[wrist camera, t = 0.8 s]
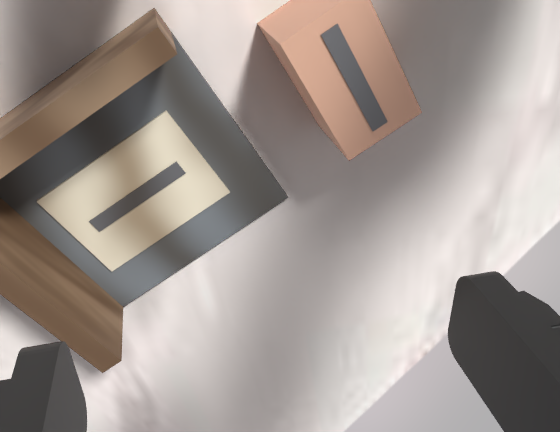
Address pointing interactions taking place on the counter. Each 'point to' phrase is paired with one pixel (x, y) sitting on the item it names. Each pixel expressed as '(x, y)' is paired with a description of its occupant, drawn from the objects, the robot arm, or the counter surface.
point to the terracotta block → (342, 69)
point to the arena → (119, 186)
